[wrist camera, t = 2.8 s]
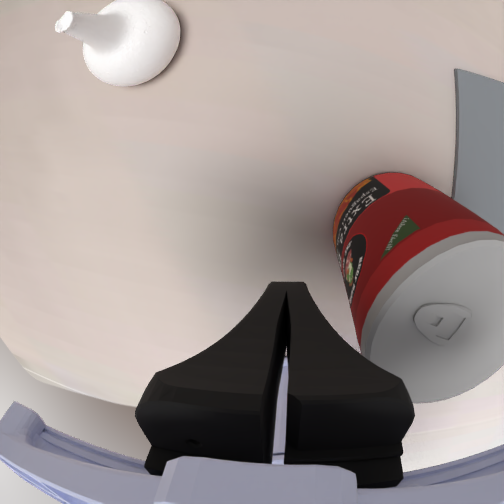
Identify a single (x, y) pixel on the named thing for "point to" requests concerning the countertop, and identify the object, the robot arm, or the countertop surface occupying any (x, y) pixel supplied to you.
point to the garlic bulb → (125, 39)
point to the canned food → (422, 285)
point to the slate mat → (480, 146)
